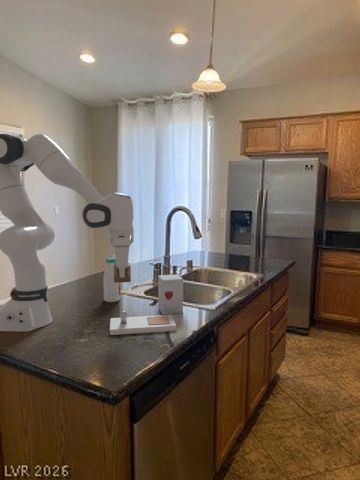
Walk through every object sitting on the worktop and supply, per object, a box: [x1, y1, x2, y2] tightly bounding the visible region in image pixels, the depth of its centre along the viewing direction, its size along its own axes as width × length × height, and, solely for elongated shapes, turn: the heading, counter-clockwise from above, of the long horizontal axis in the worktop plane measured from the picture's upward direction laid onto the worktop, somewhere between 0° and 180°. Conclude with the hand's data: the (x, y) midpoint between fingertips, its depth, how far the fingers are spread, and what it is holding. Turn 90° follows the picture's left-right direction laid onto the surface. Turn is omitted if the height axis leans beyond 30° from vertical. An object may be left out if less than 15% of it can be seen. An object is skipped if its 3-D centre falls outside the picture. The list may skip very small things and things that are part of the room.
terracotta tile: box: [147, 315, 170, 325], centre depth 141 cm, size 8×8×1 cm
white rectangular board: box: [109, 314, 177, 336], centre depth 140 cm, size 24×12×2 cm, turn 99°
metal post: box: [119, 309, 128, 324], centre depth 138 cm, size 2×2×4 cm
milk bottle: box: [102, 257, 122, 303], centre depth 173 cm, size 8×8×20 cm
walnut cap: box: [114, 262, 132, 283], centre depth 136 cm, size 6×6×6 cm
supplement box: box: [157, 274, 184, 315], centre depth 157 cm, size 9×9×15 cm
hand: (122, 274), depth 136 cm, fingers closed on walnut cap, 6 cm apart
